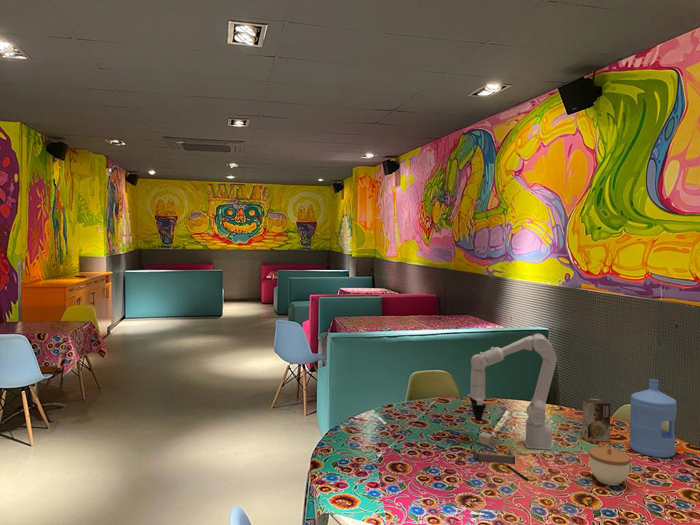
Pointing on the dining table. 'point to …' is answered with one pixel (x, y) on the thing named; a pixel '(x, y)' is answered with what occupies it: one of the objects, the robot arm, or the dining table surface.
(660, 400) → the water jug
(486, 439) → the usb wall charger
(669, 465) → the dining table surface
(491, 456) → the charging bay
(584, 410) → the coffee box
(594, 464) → the lidded bowl
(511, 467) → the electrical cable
